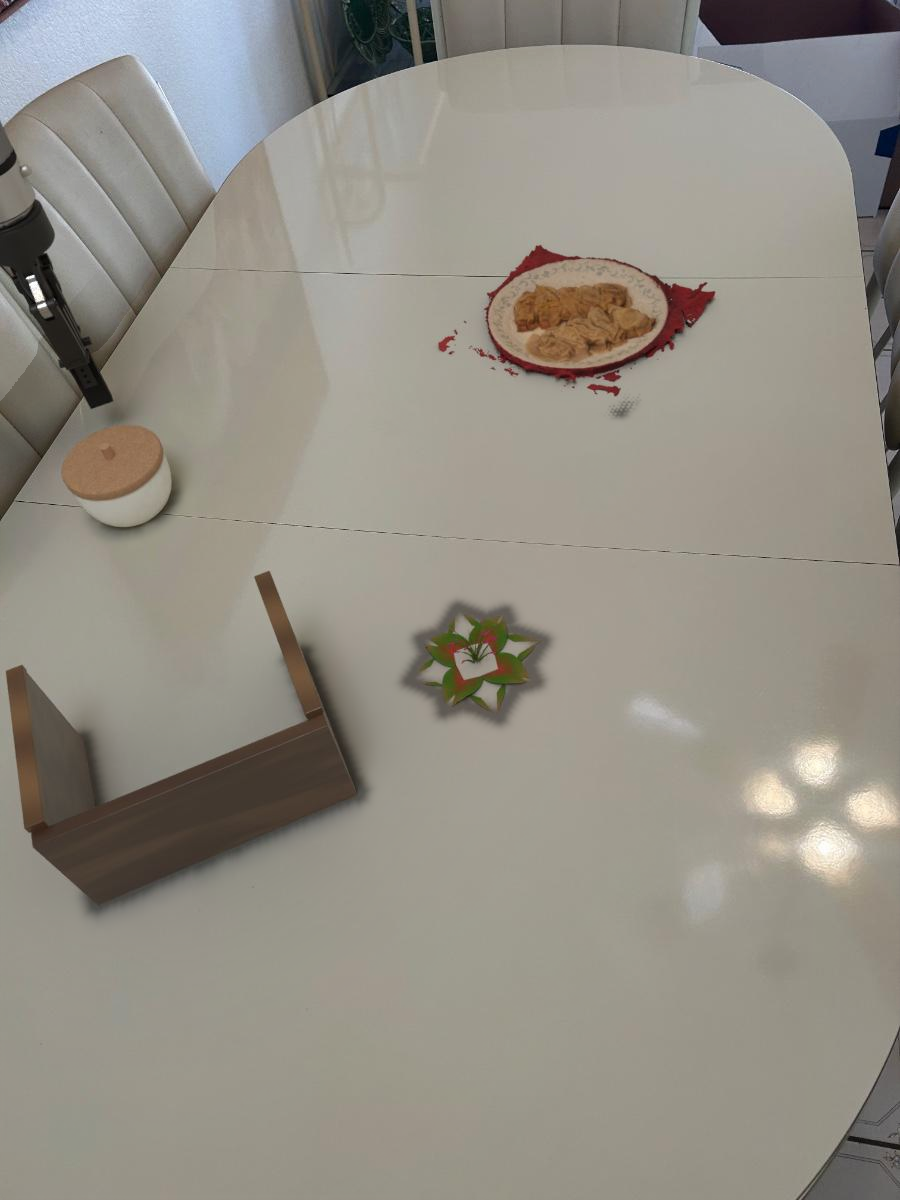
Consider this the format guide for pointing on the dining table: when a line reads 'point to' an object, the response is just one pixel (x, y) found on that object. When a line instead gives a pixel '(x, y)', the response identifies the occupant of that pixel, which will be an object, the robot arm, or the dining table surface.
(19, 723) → the shelf cubby
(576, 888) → the dining table surface
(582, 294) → the plate with food
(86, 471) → the trinket box
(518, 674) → the lily flower
